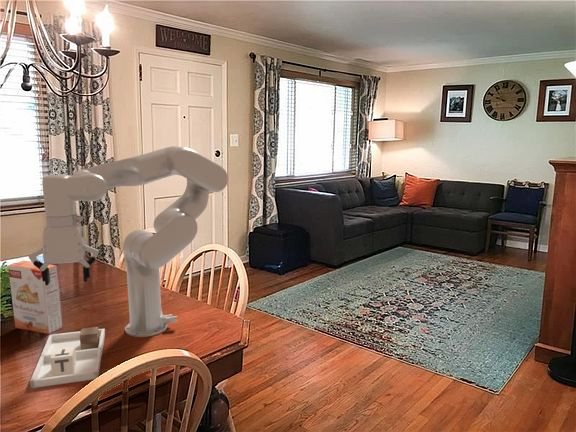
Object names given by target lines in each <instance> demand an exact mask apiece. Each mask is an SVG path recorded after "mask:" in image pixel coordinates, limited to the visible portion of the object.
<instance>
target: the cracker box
mask: <svg viewBox="0 0 576 432" xmlns="http://www.w3.org/2000/svg"><path fill="white" fill-rule="evenodd" d="M7 267H8V268H7V269H8V276H9V284H10V293H11V300H12V310H13V311H12V312H13V319H14V325H15V326H14V327H15V329H19V330H24V331H26V330H27V331H32V332H36V333H39V334H40V333H42V334H46V335H51V334H52V333H54V332H56V331H58V330H61V329H62V328H64V325H63V323H64V322H63V316H62V314H63V313H62V304H61V296H60V295H61V294H60V292H61V291H60V284H59V274H58V272H59V271H58V266H57V265H54V264H49V265H48V269H49V274H50V283H49V284H48V285H45V281H44V282H43V280H42V271H40V269H39V268H37V267H36V266H34V264H33V262H32V261H31V260H20V261H17V262H14V263H10V264H8V266H7Z"/></svg>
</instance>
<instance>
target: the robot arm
mask: <svg viewBox="0 0 576 432" xmlns="http://www.w3.org/2000/svg"><path fill="white" fill-rule="evenodd" d="M176 175H177V176H181V177H183V178H186V187H185V191H184V192H183V193H182V194H181V196H180V197H179V198H178V199H176V200H175V201H174V202H173V203H171V204H169V206H168V207H166V208H165V209H163V211H160V213H158V214H157V216H156V217H155V219H154V221H153V229H154V231H155V233H153V232H151V231H147V230H145V229H136V230H133V231H132V232H130V233H128V234H127V235H126V237H125V238H124V241H123V244H122V253H123V257H124V259H123V260H124V263H125V269H126V279H127V281H126V282H127V299H128V312H129V315H128V316H129V322H128V324H127V325H126V326H125V327H124V332H125V333H126V335H128V336H130V337H134V338H135V337H136V338H146V337H152V336H156V335H160V334H161V333H165V331H166V330H168V324H170V323H171V324H172V323H178V316H177V315H175V316H173V314H172V313H171V314H166V315H165V314H163V310H162V296H161V295H162V294H161V274H160V268H162V267H164V266H165V265H166V264H168V263H169V262H171V261H172V260H173V259H174V258H176V256H177V255H178V254H179V253H181V252H182V251H183V250H184V249H186V248H187V247H188V246H189V245H190V244H191V243H192V242H193V241H194V239H195V237H196V235H197V234H198V223H197V221H196V219H198V218H199V217H200V216H201V215H202V214H203V213H204V211H205V210H206V208H207V206H208V203H209V196H210V193H219V192H222V191H223V190H225V188H227V185H228V183H229V175H228V173H227V171H226V169H225V168H224V167H223V166H222V165H220V164H218V163H216V162H214V161H213V160H211V159H210V158H208V157H206V156H204V155H202V154H200V153H199V152H197V151H195V150H194V149H192V148H189V147H185V146H184V147H183V146H168V147H165V148H159V149H157V150H154V151H153V150H152V151H150V152H146V153H144V154H140V155H135V156H132V157H128V158H124V159H120V160H116V161H111V162H105V163H101V164H97V165H94V166H90V167H87V168H84V169H80V170H77V171H75V172H74V173H72V175H69V174H50V175H46V176H44V177H43V178H42V183H41V184H42V185H41V186H42V192H43V193H42V194H43V195H42V196H43V205H44V214H45V215H44V216H45V224H46V225H45V226H43V233H42V247H41V248H39V249H37V250H35V251H34V252H32V253H30V254H28V259H29V261H30V262H33V264H34V266H36V267H37V268H39V269H40V271H42V280H43V282H44V281H45V285H48V284H49V283H50V274H49V269H48V265H54V264H69V263H71V264H72V263H80V264H81V265H82V266H83V268H82V271H83V272H82V273H83V281H84V282H85V283H87V282H88V280H89V279H90V278H91V270H90V269H91V268H90V267H91V265H92V264H94V262H95V261H96V259H97V257H98V255H99V253H100V250H99V249H97V248H95V247H93V246H89V245H87V244H86V243H85V236H84V232H83V228H82V224H81V223H79V222H82V221H84V217H83V215H79V214H78V212H77V205H76V204H77V202H78V201H79V202H81V201H82V202H95V201H99V200H101V199H103V198H104V197H105V196H106V194H107V193H108V190H109V189H112V188H119V187H137V186H139V187H140V186H144V185H148V184H150V183H153V182H156V181H159V180H162V179H165V178H169V177H172V176H176ZM86 252H88V253H91V254H92V255H91V257H89V259H88V258H86ZM40 255H42V259H43V261H44V262H42V261H40V260H39V259H38V258H37V257H39V256H40Z"/></svg>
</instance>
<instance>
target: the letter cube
mask: <svg viewBox="0 0 576 432" xmlns="http://www.w3.org/2000/svg"><path fill="white" fill-rule="evenodd" d="M50 360H51V370H52V377H54V376H61V375H68V374H74V371H75V367H76V354H75V347H68V348H60V349H54V350H53V353H52V355H51V358H50Z"/></svg>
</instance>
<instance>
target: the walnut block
mask: <svg viewBox="0 0 576 432" xmlns="http://www.w3.org/2000/svg"><path fill="white" fill-rule="evenodd" d="M99 329H100V328H99V326H93V327H84V328H81V330H80V331H81V332H80V346H81V350H86V349H94V348H98V346H99Z"/></svg>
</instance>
